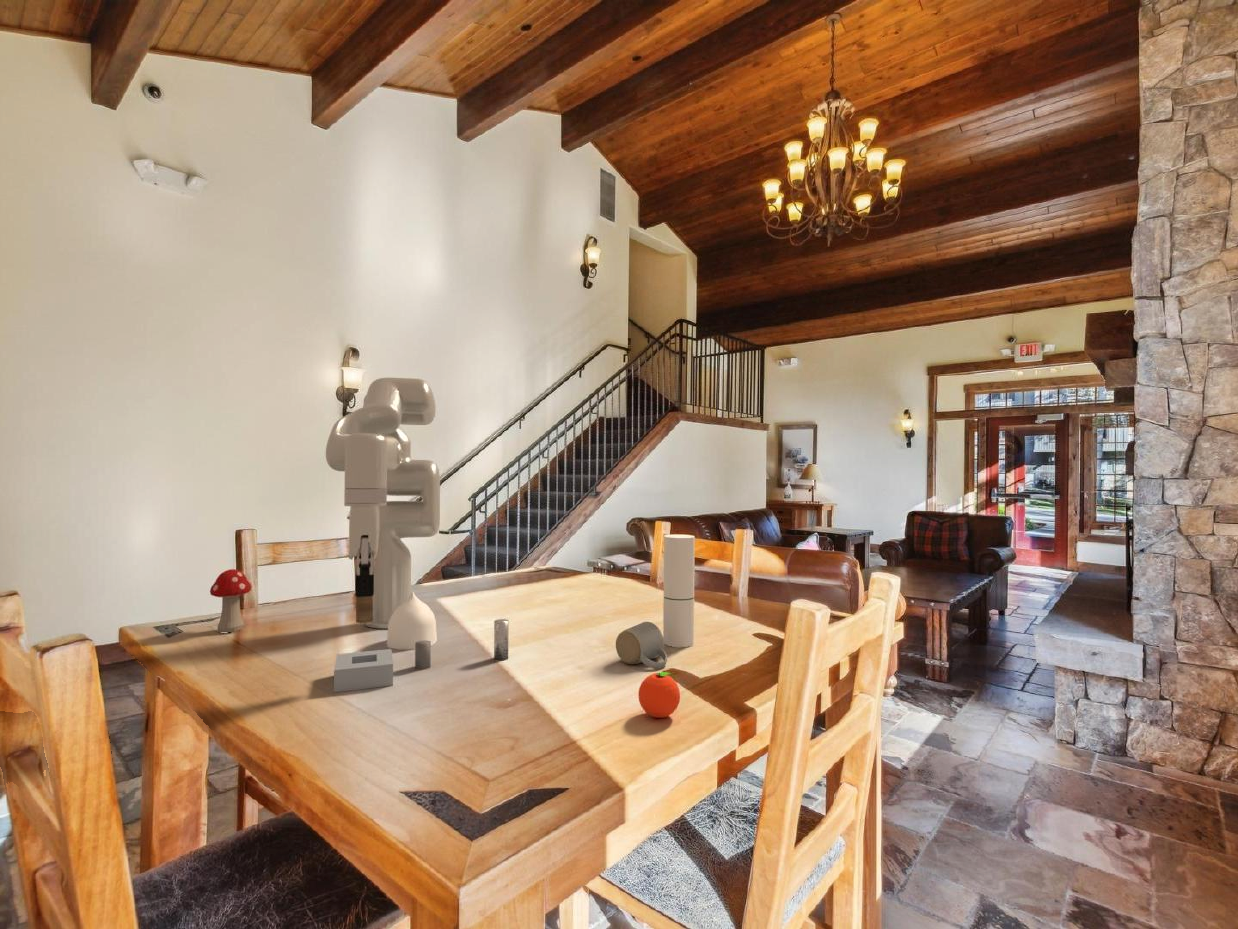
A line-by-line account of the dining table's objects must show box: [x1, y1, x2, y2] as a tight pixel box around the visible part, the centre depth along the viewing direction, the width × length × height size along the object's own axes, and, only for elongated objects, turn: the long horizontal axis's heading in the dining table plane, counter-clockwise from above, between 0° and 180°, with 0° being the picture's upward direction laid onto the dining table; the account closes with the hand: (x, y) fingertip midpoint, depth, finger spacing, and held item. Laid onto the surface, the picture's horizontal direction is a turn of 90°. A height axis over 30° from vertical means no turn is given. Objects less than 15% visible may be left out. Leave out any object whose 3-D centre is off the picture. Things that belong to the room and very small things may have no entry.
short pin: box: [414, 640, 432, 670], centre depth 125 cm, size 3×3×5 cm
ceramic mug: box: [615, 621, 668, 670], centre depth 129 cm, size 11×8×8 cm
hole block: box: [333, 648, 394, 693], centre depth 117 cm, size 10×10×4 cm
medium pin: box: [493, 618, 510, 661], centre depth 131 cm, size 3×3×8 cm
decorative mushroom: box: [209, 568, 253, 633], centre depth 151 cm, size 10×9×15 cm
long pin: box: [355, 548, 374, 624], centre depth 117 cm, size 3×3×14 cm
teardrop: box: [386, 590, 438, 650], centre depth 142 cm, size 11×11×12 cm
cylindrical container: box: [662, 534, 696, 648], centre depth 144 cm, size 7×7×25 cm
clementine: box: [637, 671, 681, 719], centre depth 102 cm, size 8×7×7 cm
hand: (364, 593), depth 117 cm, fingers closed on long pin, 3 cm apart
